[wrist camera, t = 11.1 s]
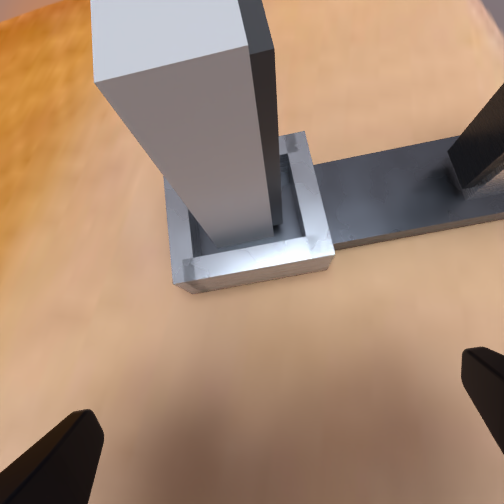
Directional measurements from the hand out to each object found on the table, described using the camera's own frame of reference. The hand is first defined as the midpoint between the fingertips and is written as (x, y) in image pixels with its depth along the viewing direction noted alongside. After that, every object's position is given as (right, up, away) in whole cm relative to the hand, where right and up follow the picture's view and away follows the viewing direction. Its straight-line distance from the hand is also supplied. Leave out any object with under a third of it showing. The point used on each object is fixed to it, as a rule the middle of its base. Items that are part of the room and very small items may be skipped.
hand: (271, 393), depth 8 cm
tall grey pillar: (-1, +5, +11) cm, 13 cm away
